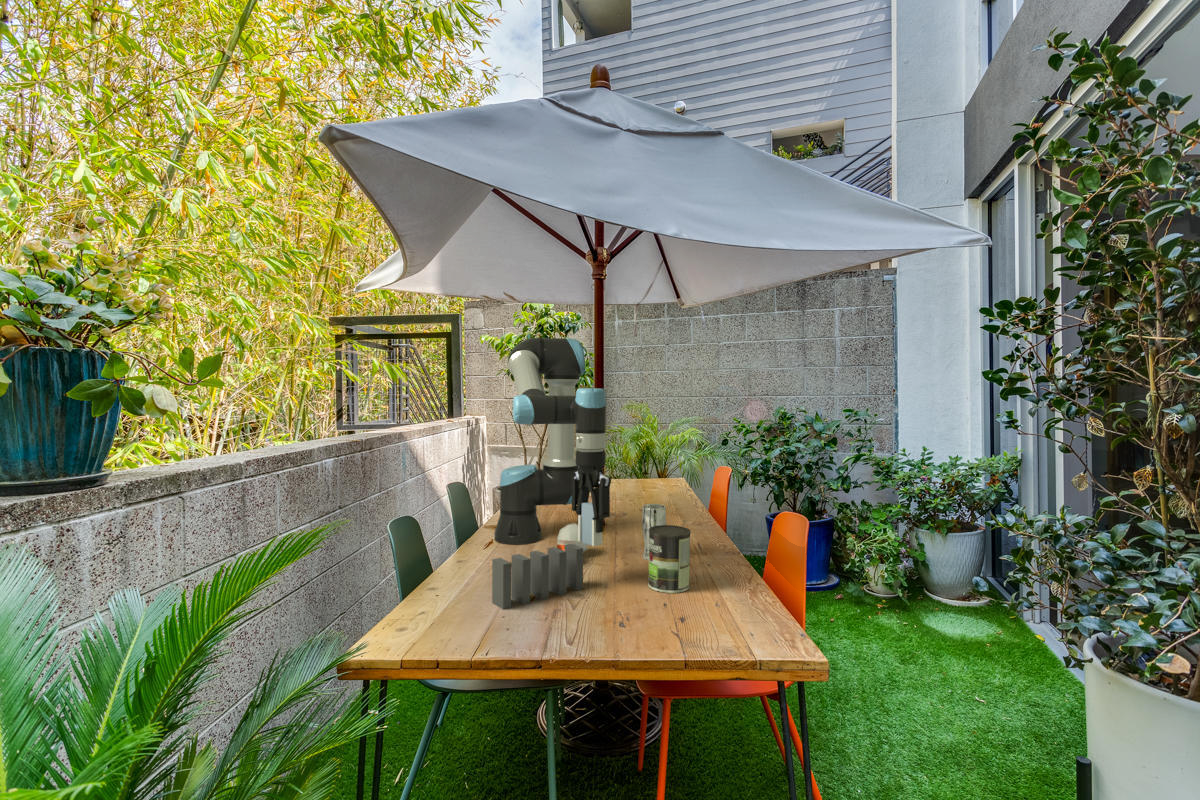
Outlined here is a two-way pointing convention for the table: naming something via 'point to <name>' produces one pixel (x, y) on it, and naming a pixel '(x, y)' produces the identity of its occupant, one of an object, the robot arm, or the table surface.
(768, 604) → the table surface
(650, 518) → the silver metal cylinder
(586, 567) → the table surface
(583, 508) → the domino
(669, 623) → the table surface
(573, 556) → the domino
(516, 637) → the table surface
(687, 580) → the coffee can
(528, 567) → the domino
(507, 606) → the domino
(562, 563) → the domino
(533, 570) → the domino
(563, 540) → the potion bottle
